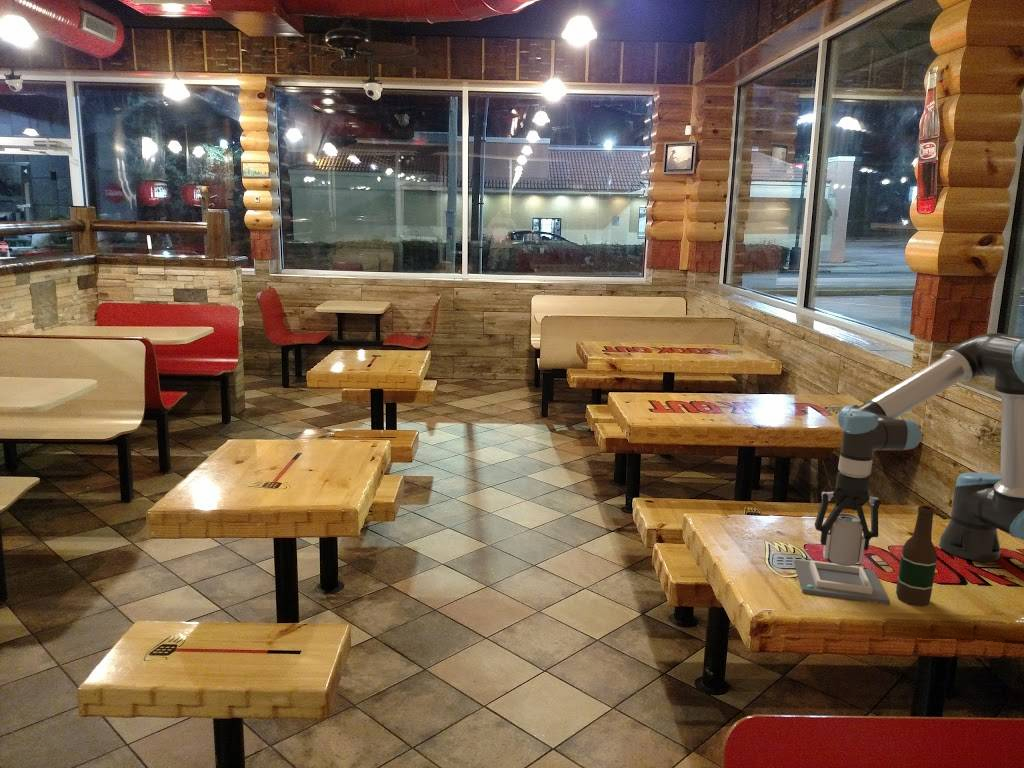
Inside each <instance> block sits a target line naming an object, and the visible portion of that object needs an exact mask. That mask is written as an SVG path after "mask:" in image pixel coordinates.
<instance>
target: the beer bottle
mask: <svg viewBox="0 0 1024 768" xmlns="http://www.w3.org/2000/svg"><path fill="white" fill-rule="evenodd" d="M917 511H918V514H917V517H916V523H915V527H914V530H913V533H912V535H911V536H910V537H909V538H908V539H907V540H906V541H905V543H904V545H903V546H902V550H901V556H900V562H899V568H898V574H897V583H896V589H895V590H896V591H895V593H896V594H895V595H896V596H897V599H898V600H899V601H901V602H903V603H905V604H907V605H911V606H917V607H923V606H927V605H929V604H930V602H931V598H932V591H933V585H934V580H935V575H936V574H935V573H936V567H937V560H938V559H937V557H938V554H937V550H936V547H935V545H934V544H933V541H932V539H933V538H932V531H933V521H934V515H935V513H936V511H935V509H934V507H932V506H929V505H920V506H918V507H917Z"/></svg>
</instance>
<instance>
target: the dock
mask: <svg viewBox="0 0 1024 768" xmlns="http://www.w3.org/2000/svg"><path fill="white" fill-rule="evenodd" d="M794 564H795V566H794V568H796V569H795V573H796V575H797V576H796V577H797V579H798V582H799V586H800V589H801V593H802V594H810V595H817V596H823V597H824V596H825V597H830V596H831V597H830V598H837V597H838V599H839V598H840V599H846V600H852V601H861V602H866V601H870V602H869V603H874V602H877V603H876V604H881V603H883V605H888V604H889V605H890V602H891V600H890V598H889V597H888V595H887V593H886V590H885V589H884V587H883V585H882V584H881V581H880V579H879V577H878V576H877V574H876V572H875V570H874V569H866V568H863V566H858V565H857V566H856V565H852V566H842V565H838V564H835V563H833V562H827V561H826V562H825V561H818V560H812V559H811V560H809V561H805V560H799V559H798V560H797V559H794V560H793V565H794Z"/></svg>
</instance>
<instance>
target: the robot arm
mask: <svg viewBox="0 0 1024 768" xmlns="http://www.w3.org/2000/svg"><path fill="white" fill-rule="evenodd" d="M976 377H990V378H993V379H994V390H995V393H997V394H999V396H1001V400H1000V401H1001V403H1000V405H1001V411H1000V412H1001V414H1000V416H1001V417H1000V423H1001V424H1000V474H994V473H987V472H973V471H972V472H971V471H969V472H962V473H960V474H959V475H958V477H957V479H956V484H955V486H954V492H953V494H954V495H953V500H952V507H951V508H952V509H951V515H950V520H949V521H948V523H947V525H946V527H945V529H944V530H943V532H942V534H941V535H940V539H939V547H940V548H941V549H942V550H943V551H945V552H946V553H948V554H951V555H953V556H956V557H957V558H958V557H959V558H962V559H965V560H966V559H967V560H971V561H976V562H977V561H978V562H995V561H998V560H999V559H1000V557H1001V545H1000V540H999V535H998V530H1000V531H1002V532H1004V533H1006V534H1009V535H1011V537H1013V538H1015V539H1016V538H1018V539H1019V540H1023V541H1024V337H1023V336H1017V335H1010V334H1005V333H1000V332H991V333H990V332H989V333H985V334H979V335H977V336H974V337H971V338H969V339H966V340H965V341H962V342H960V343H958V344H956V345H954V346H953V347H951V348H949V349H947V350H946V351H944V352H943V353H942V357H941V358H940V359H937V360H936V361H934V362H932V363H930V364H929V365H928V366H926V367H924V368H922V369H921V370H920V371H918V372H916V373H914V374H912V375H910V376H909V377H907V378H906V379H904V380H901V381H900V382H899V383H896V384H895V385H894V386H892V387H890V388H889V389H887V390H885V391H883V392H881V393H880V394H878V395H877V396H875V397H873V398H871V399H870V400H867V401H866V402H864V403H863V404H861V405H858V404H847V405H845V406H844V407H842V408H841V410H839V413H838V415H837V422H838V425H839V427H840V428H841V429H842V435H841V437H842V438H841V442H840V443H841V445H840V453H839V460H838V465H837V466H838V467H837V469H838V472H837V475H836V481H835V488H834V489H833V490H832V491H827V492H826V491H825V490H822V491H821V501H820V505H819V509H818V512H817V515H816V519H815V522H814V527H815V530H816V531H820V532H821V534H820V543H821V544H820V545H823V550H822V556H823V559H824V560H829V558H828V552H829V545H830V537H831V534H830V528H831V527H832V525H833V523H834V522H835V520H836V519H837V517H838V516H839V514H840V513H843V510H852V511H856V513H857V517H859V519H860V521H861V525H862V526H863V531H862V538H861V545H860V552H859V559H858V562H857V563H858V564H863V559H864V551H868V550H869V545H870V540H871V539H872V538H878V537H879V507H880V505H881V502H882V501H881V500H880V499H879V497H878V496H871V495H870V494H869V488H870V487H869V486H870V481H871V477H870V475H871V474H872V466H873V459H874V454H875V451H906V450H912V449H915V448H917V447H918V446H919V444H920V442H921V437H922V431H921V428H920V425H919V424H918V423H917V422H916V421H914V420H911V419H904V418H901V419H897V418H899V417H902V416H904V414H906V413H908V412H910V411H912V410H913V409H915V408H916V407H918V406H920V405H922V404H924V403H926V402H927V401H928V400H930V399H931V398H933V397H935V396H937V395H938V394H940V393H942V392H943V391H945V390H948V389H949V388H951V387H952V386H954V385H955V384H957V383H959V382H965V383H966V382H969V381H971V380H972V379H973V378H976ZM832 498H834V500H835V501H836V502H835V504H834V506H833V508H832V510H831V512H830V513H829V515H827V518H826V520H825V521H824V519H825V517H826V513H827V510H828V507H829V502H831V501H832ZM867 502H869V503H868V504H869V505H870V530H869V528H868V527H869V526H868V524H867V520H866V517H865V514H864V509H863V506H864V505H865V504H867Z"/></svg>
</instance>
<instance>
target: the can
mask: <svg viewBox="0 0 1024 768" xmlns="http://www.w3.org/2000/svg"><path fill="white" fill-rule="evenodd" d="M829 532H830V534H831V537H830V545H829V552H828V560H829V561H830V563H835V564H838V565H842V566H855V564H857V563H858V559H859V552H860V545H861V538H862V535H863V526H862V525H861V521H860V519H859V517H858V515H854V514H852V513H846V512H845V513H844V512H841V513H840V514H839V516H838V517H837V519H836V520H835V522H834V523H833V525H832V527H831V528H830V530H829Z"/></svg>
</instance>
